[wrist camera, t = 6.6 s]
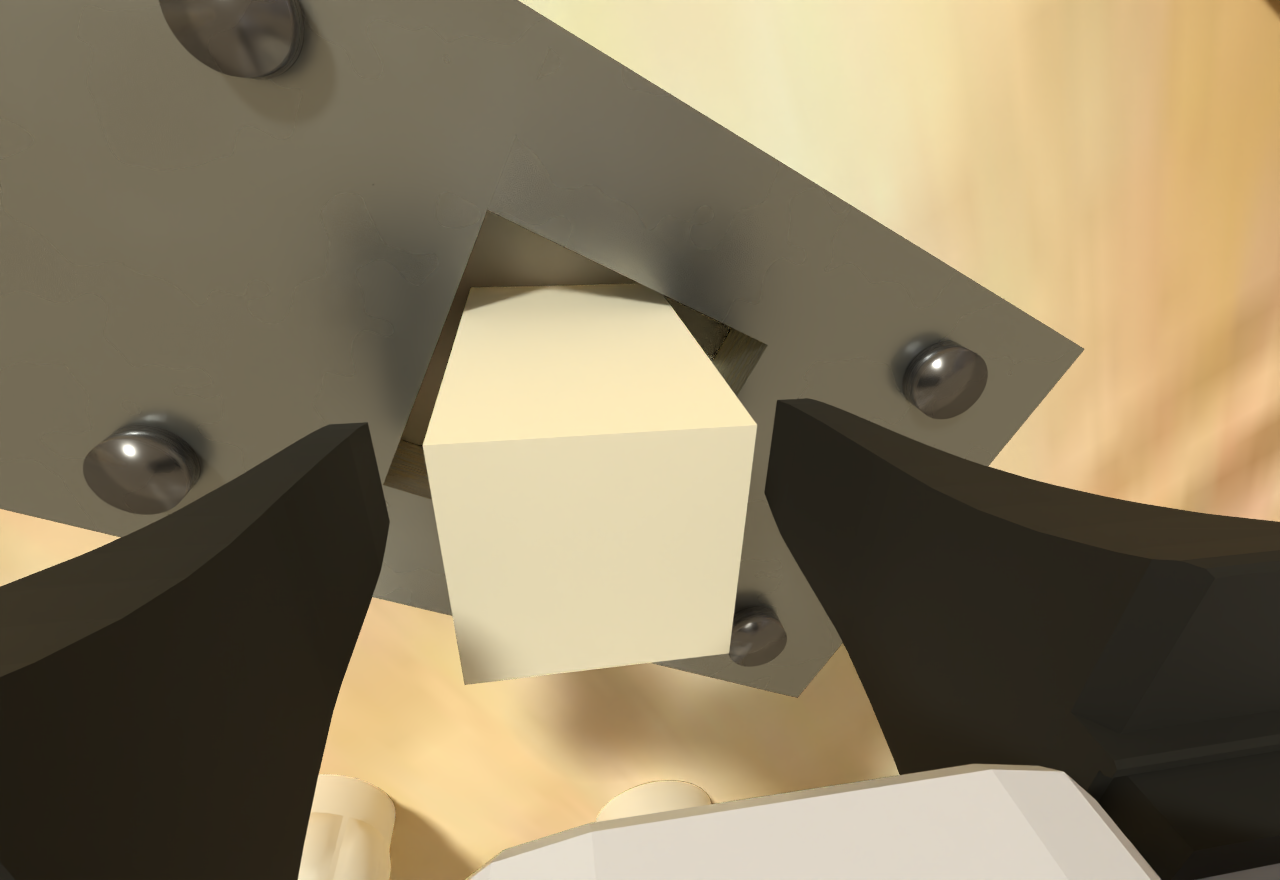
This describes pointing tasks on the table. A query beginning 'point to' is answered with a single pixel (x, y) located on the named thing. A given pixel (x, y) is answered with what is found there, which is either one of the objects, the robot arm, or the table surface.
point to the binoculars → (365, 815)
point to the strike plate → (420, 263)
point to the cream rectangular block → (585, 483)
